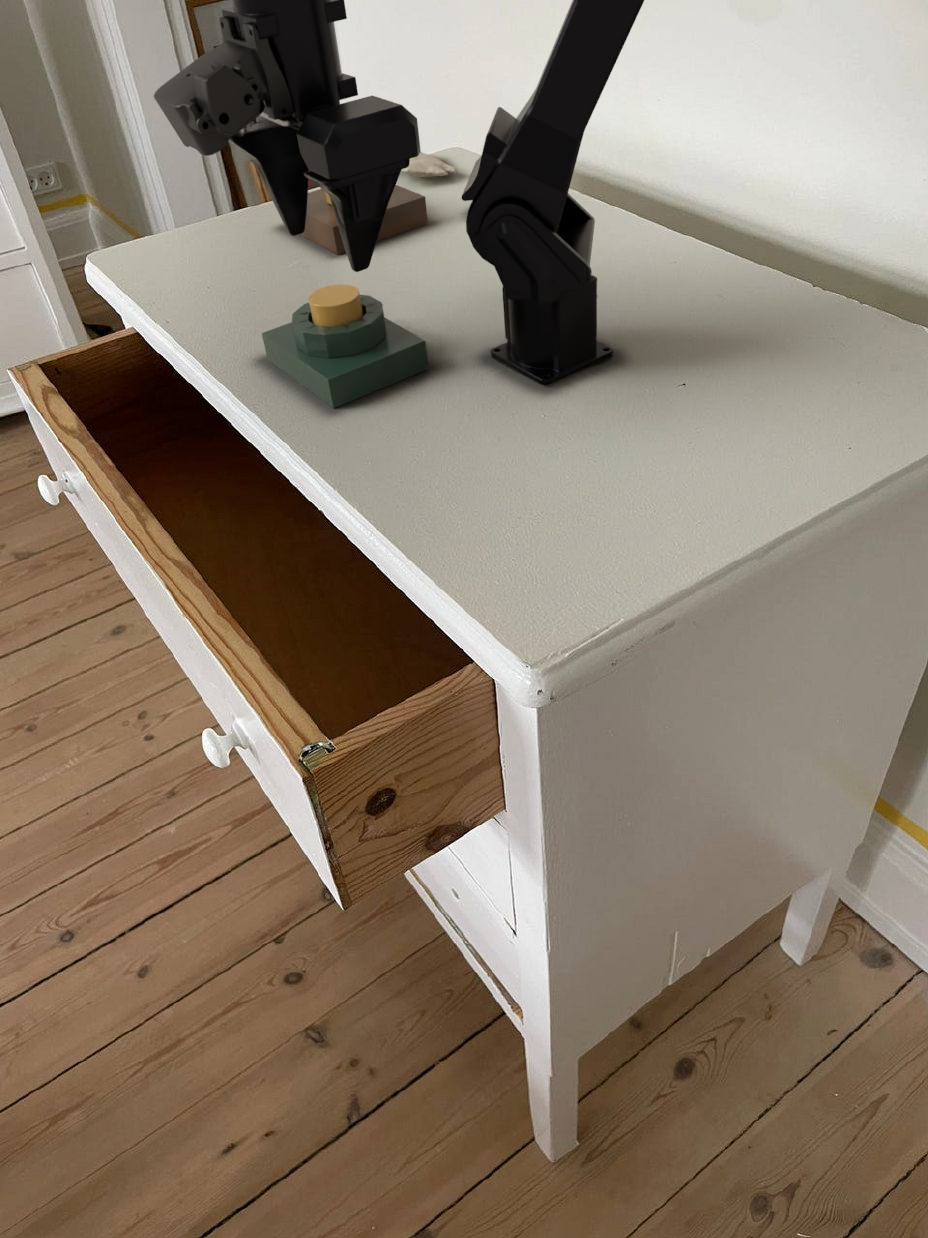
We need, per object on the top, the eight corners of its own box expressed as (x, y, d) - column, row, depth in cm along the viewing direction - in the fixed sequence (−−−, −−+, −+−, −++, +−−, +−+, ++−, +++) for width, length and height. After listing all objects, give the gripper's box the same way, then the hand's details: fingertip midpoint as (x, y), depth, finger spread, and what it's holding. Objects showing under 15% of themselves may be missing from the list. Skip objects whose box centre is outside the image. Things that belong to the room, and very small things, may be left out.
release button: (372, 317, 69) (368, 294, 68) (328, 334, 67) (324, 310, 66) (346, 302, 71) (342, 279, 70) (304, 318, 70) (299, 295, 69)
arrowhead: (457, 190, 100) (448, 162, 108) (460, 171, 99) (451, 144, 106) (391, 182, 99) (387, 154, 106) (393, 162, 98) (388, 135, 105)
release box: (428, 368, 70) (422, 316, 67) (333, 408, 67) (323, 355, 64) (357, 325, 76) (349, 276, 74) (267, 360, 73) (255, 309, 71)
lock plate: (428, 223, 92) (425, 194, 90) (337, 254, 88) (332, 225, 86) (373, 199, 98) (369, 171, 96) (286, 227, 94) (280, 199, 92)
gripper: (93, -5, 59) (168, 249, 70) (215, 32, 47) (283, 332, 58) (257, -38, 64) (304, 206, 74) (407, -12, 51) (439, 276, 62)
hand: (327, 250), depth 67 cm, fingers open, 9 cm apart
